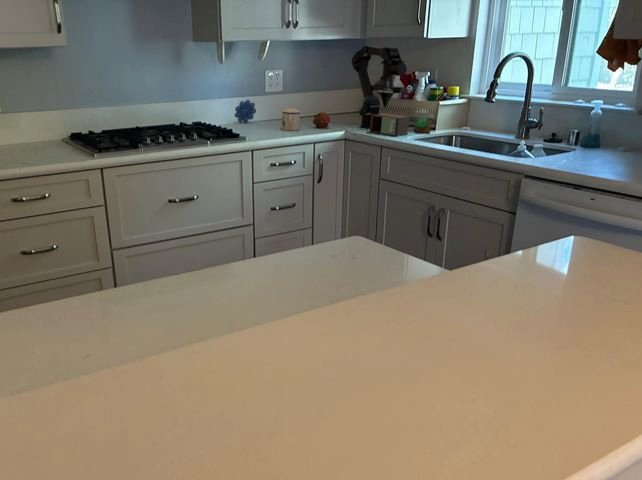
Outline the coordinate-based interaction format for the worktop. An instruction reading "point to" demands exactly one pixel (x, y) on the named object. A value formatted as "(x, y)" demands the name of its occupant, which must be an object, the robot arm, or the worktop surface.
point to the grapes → (245, 111)
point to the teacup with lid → (290, 119)
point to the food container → (423, 122)
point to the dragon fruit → (321, 120)
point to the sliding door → (388, 125)
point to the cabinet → (401, 124)
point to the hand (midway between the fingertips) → (384, 106)
